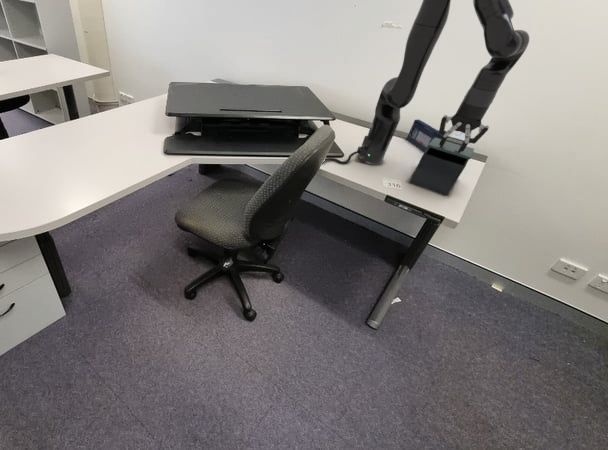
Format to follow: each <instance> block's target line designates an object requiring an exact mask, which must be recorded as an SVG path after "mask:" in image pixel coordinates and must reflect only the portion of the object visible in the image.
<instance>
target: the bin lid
mask: <svg viewBox="0 0 608 450" xmlns="http://www.w3.org/2000/svg"><path fill="white" fill-rule="evenodd" d="M450 136H451V135H449V136H448V137H447V139H446V141H445V143H444V145H443V147H440V146H441V145H439V143H440V141H441V139H439V138H434V139H433V140H432V141H431V142H430V143H429V144H428V146H427V147H430V148H433V149H437V150H440V151H443V152H446V153H450V154H453V155H456V156H460V157H463V158H466V159H469V160H471V159H472V157H473V154H474V152H475V148H473V147H469V146H466V148H465V149H464V151H463V152H462V151H461V152H460V153H459V152H458V151H459V149H460V147H461V146H462V144H463V142H464V140H461V139H457V138H454V137H450Z"/></svg>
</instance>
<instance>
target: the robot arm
mask: <svg viewBox="0 0 608 450" xmlns="http://www.w3.org/2000/svg"><path fill="white" fill-rule="evenodd" d="M451 1H452V0H422V3H421V5H420V7H419V10H418V12H417V14H416V17H415V19H414V21H413V23H412V25H411V28H410V30H409V33H408V35H407V38H406V43H405V48H404V53H403V59H402V65H401V68H400V71H399V74H398V75H397V76H396V77H393V78H391V79H389V80H388V81H386V82H385V84H384V85H383V87H382V89H381V90H380V93H379V97H378V100H377V102H376V105H375V109H374V116H373V119H372V122H371V125H370V128H369V130H368V133H367V135H365V136H364V137H363V140H362V143H361V146H358V147H357V150H356V151H353V152H352V153H350V154H349V156H348V158H347V159H346V160H340V159H338V158H335V157H334V158H333V157H325V158H324V159H325V161H324V162H323V163H325V162H326V161H334V162H337V163H339V164H342V165H343V164H347V163H349V162H350V161H351V159H352V157H353V156H355V155H357V156H358V158H359V159H360V161H361V162H362V163H366V164H369V165H374V166H375V165H381V164H382V163H383V161H384V158H385V156H386V153H387V151H388V148H389V146H390V144H391V141H392V139H393V137H394V134H395V132H396V130H397V127H398V125H399V123H400V120H401V109H403V108H405V107H406V106H407V105H409V104H410V102H411V101H412V100H413V98H414V96H415V94H416V91H417V89H418V85H419V83H420V80H421V78H422V74H423V72H424V70H425V68H426V66H427V63H428V61H429V60H430V58H431V56H432V53H433V51H434V49H435V47H436V45H437V43H438V41H439V39H440V37H441V35H442V33H443V31H444V28H445V26H446V24H447V21H448V19H449V15H450V8H451V3H452V2H451ZM472 4H473V8H474V13H475V15H476V17H477V19H478V21H479V24H480V26H481V28H482V30H483V31H482V32H483V38H484V45H485V49H486V51H487V53H488V55H489V56H490V57H491V58H490V59H489V62H488V63H487V64H485V65H484V66H482V68H480V69H479V71H478V73H477V74H476V76H475V78H474V80H473V82H472V84H471V86H470V87H469V89H468V91H466V93H465V95H464V97H463V99H462V101H461V103H460V104H459V106H458V108H457V111H456V113H454V115H452V116H448V115H446V114H445V115H443V116H442V117H441V120H440V125H439V130H438V131H439V134H441V135H442V136H443V137H442V139H441V141H440V143H439V145H441V146H440V147H443V145H444V143H445V141H446V139H447V137H448V136H451V134H453V133H454V132H460V133H462V134H464V135H465V141H464V142H463V144H462V146H461V147H460V149H459V151H458V152H459V153H460V152H461V151H462V152H463V151H464V149H465V148H466V147H468V145H469V144H474V145H475V144H476V143H477V142H478V141H479V140H480V139H481V138H482V137H483V136H484V135H485V134H486V133H487V132H488V131H489V129H490V126H489V125H485V124H482V120H483V119H484V117H485V115H486V113H487V111H488V110H489V108H490V106H491V105H492V103H493V102H494V100H495V98H496V97H497V96H496V95H497V93H498V91H499V90H500V88H501V86H502V84H503V83H504V80H506V77H507V75H508V74H509V72H510V71H511V70H512V69H513V68H514V67H515V65H516V64H517V62H518V61H519V60H520V59H521V57H522V56H523V55H524V53H525V52H526V50H527V48H528V46H529V44H530V35H529V33H528V31H526V30H523V29H515V28H514V26H513V22H512V19H513V17H514V14H515V13H514V10H513V7H512V5H511V3H510V0H472ZM450 121H451V127H450V128H449V129H448V130H445V129H446V126H447V124H448V123H449V122H450ZM476 129H478V133H477V134H476V135H475V136H474V137H472V131H474V130H476ZM299 228H300V226H296V230H295V232H294V235H295V236H297V235H298V232H299Z"/></svg>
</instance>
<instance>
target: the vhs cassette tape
mask: <svg viewBox="0 0 608 450" xmlns="http://www.w3.org/2000/svg"><path fill="white" fill-rule="evenodd" d="M442 137H443V136H442V135H441V134H439V130H438V129H436V128H434V127H433V126H431V125H429V124H427V123H426V122H424V121H422V120H420V119H414V121H413V122H412V125H411V127H410V130H409V132H408V134H407V136H406V140H407V142H409V143H411V144H412V145H413V146H414V147H416V148H417V149H419V150H421V151H422V152H423V153H424V152H425V151H426V150H427V148H428V147H427V146H428V144H429V143H430V142H431V141H432V140H433V139H434V138H439V139H442Z"/></svg>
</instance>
